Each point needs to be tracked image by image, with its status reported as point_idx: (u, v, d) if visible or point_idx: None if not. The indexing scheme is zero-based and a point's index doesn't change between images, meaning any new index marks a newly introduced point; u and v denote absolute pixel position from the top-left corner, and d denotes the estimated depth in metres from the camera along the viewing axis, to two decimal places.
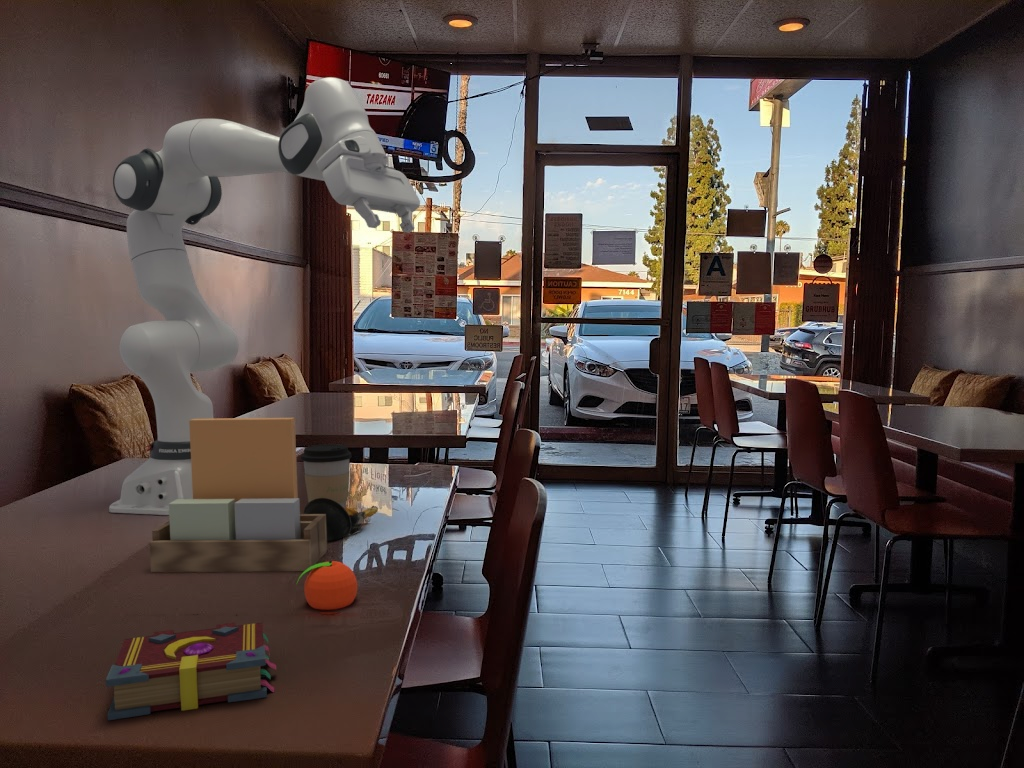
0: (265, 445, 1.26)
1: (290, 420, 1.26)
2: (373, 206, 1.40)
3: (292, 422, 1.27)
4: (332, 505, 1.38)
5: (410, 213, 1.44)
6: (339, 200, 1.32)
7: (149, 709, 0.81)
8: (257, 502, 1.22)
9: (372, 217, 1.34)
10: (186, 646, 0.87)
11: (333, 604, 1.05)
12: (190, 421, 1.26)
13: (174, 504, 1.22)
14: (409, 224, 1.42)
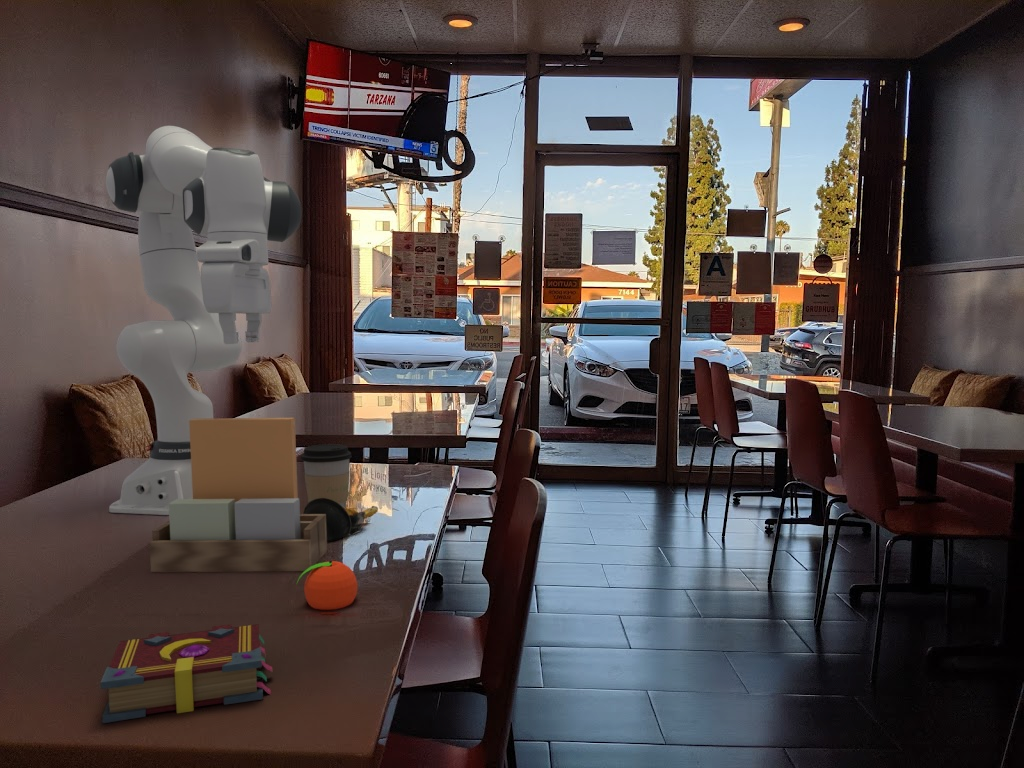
0: (265, 445, 1.26)
1: (290, 420, 1.26)
2: None
3: (292, 422, 1.27)
4: (332, 505, 1.38)
5: (260, 322, 1.32)
6: (210, 310, 1.16)
7: (145, 711, 0.80)
8: (257, 502, 1.22)
9: (233, 336, 1.21)
10: (181, 648, 0.87)
11: (333, 604, 1.05)
12: (190, 421, 1.26)
13: (174, 504, 1.22)
14: (256, 337, 1.30)
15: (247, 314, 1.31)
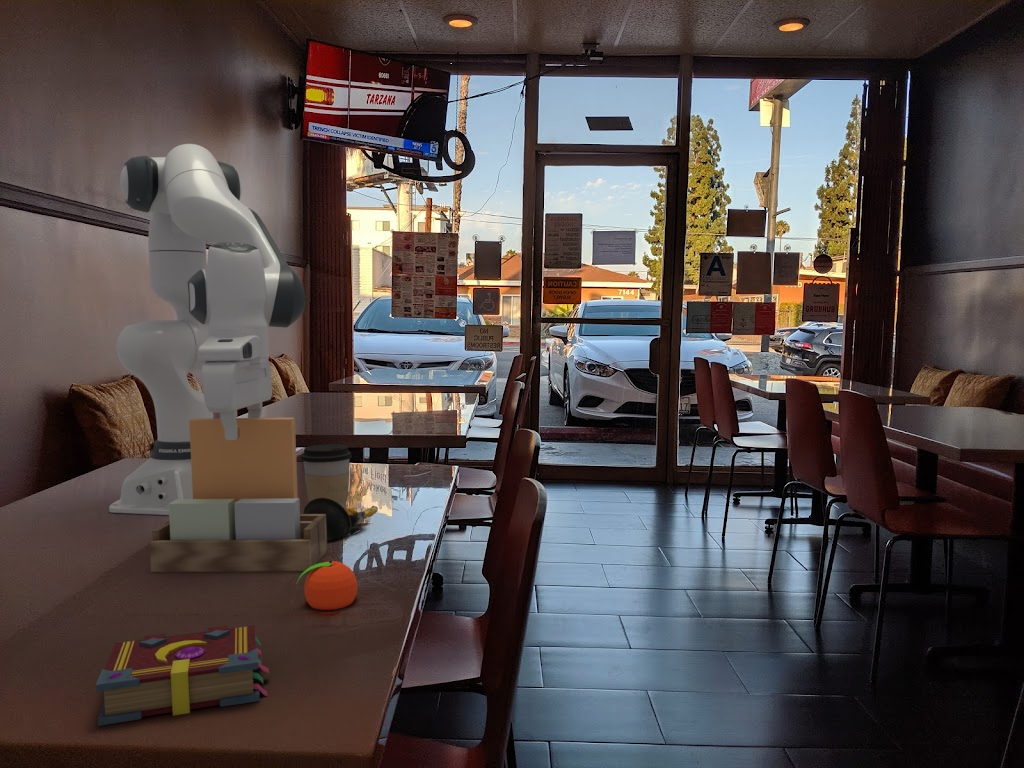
0: (265, 445, 1.26)
1: (290, 420, 1.26)
2: None
3: (292, 422, 1.27)
4: (332, 505, 1.38)
5: (261, 411, 1.33)
6: (211, 410, 1.17)
7: (140, 714, 0.80)
8: (257, 502, 1.22)
9: (235, 432, 1.22)
10: (177, 650, 0.86)
11: (333, 604, 1.05)
12: (190, 421, 1.26)
13: (174, 504, 1.22)
14: None
15: None
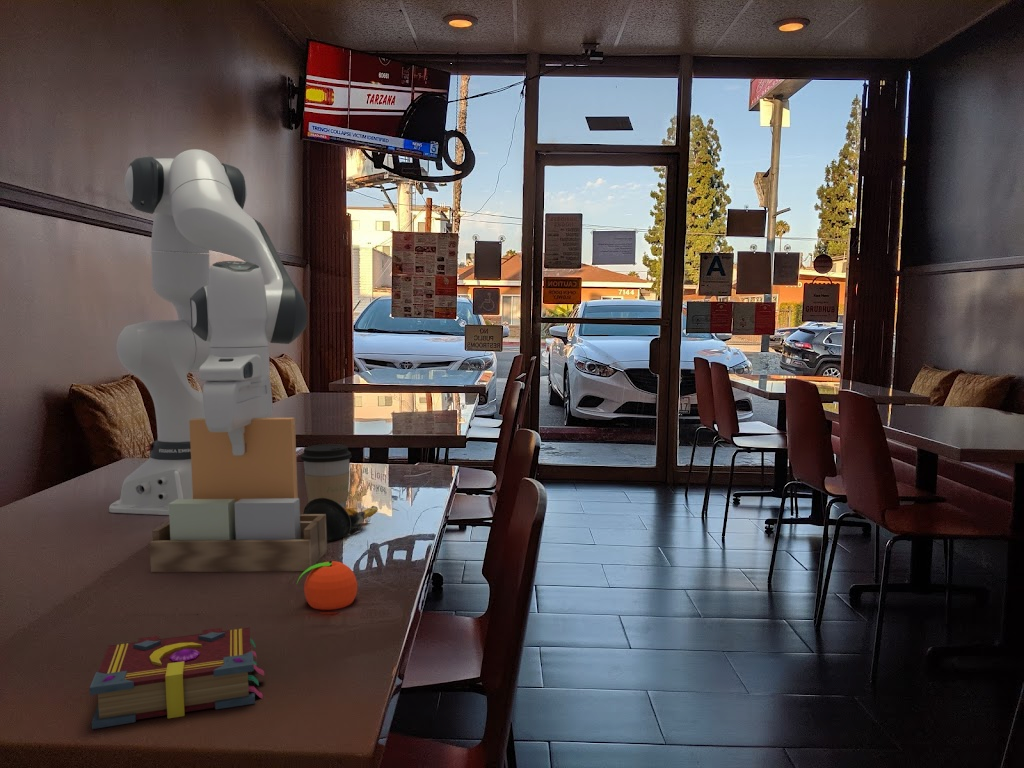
0: (265, 445, 1.26)
1: (290, 420, 1.26)
2: None
3: (292, 422, 1.27)
4: (332, 505, 1.38)
5: None
6: (212, 430, 1.18)
7: (135, 717, 0.79)
8: (257, 502, 1.22)
9: (242, 448, 1.25)
10: (172, 653, 0.86)
11: (333, 604, 1.05)
12: (190, 421, 1.26)
13: (174, 504, 1.22)
14: None
15: None
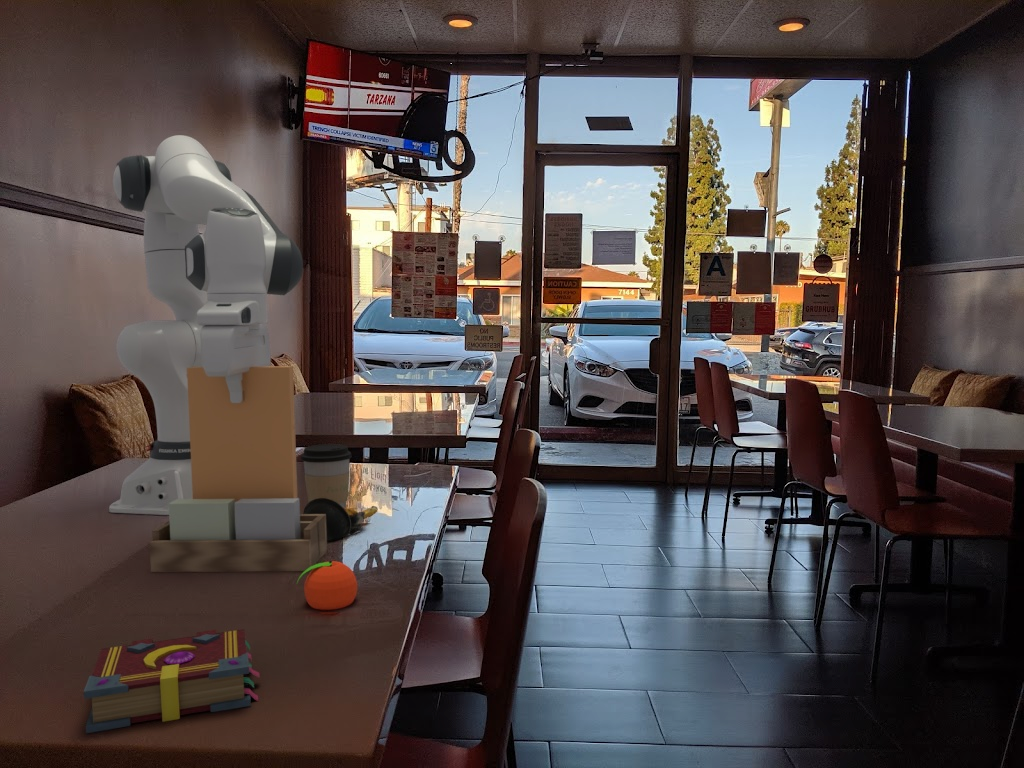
0: (263, 393, 1.26)
1: (288, 368, 1.25)
2: None
3: (290, 370, 1.26)
4: (332, 505, 1.38)
5: None
6: (209, 374, 1.17)
7: (129, 721, 0.79)
8: (257, 502, 1.22)
9: (240, 395, 1.25)
10: (166, 655, 0.85)
11: (333, 604, 1.05)
12: (188, 369, 1.26)
13: (174, 504, 1.22)
14: None
15: None
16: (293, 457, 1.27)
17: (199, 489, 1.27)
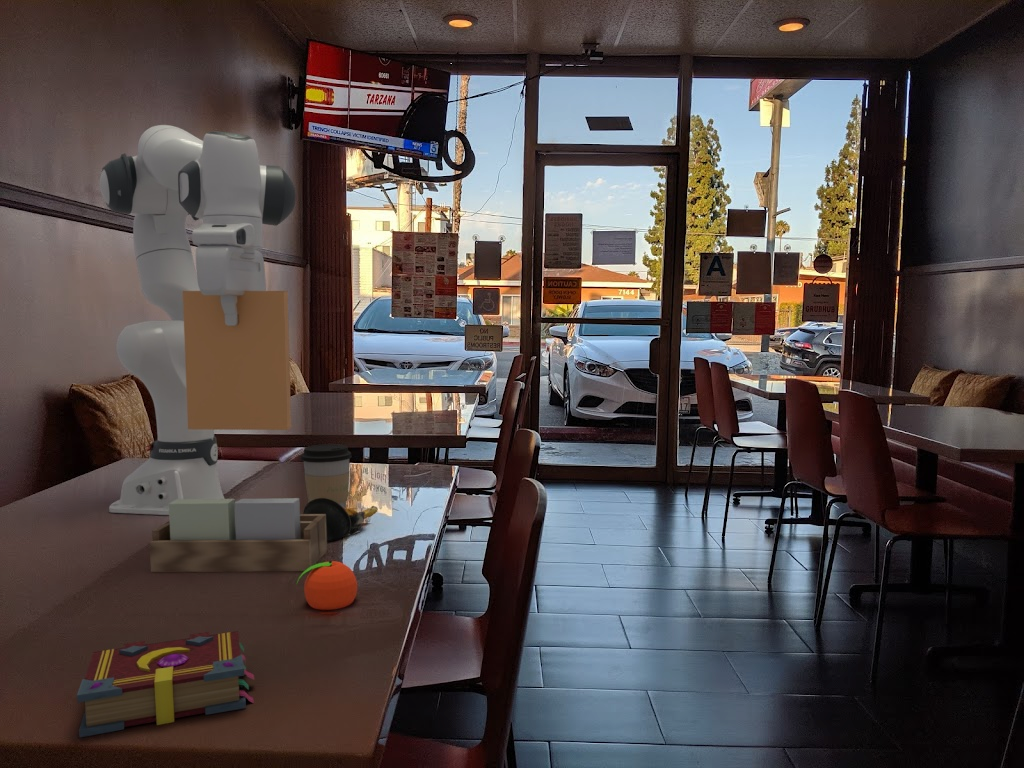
0: (258, 317, 1.27)
1: (283, 292, 1.27)
2: None
3: (285, 294, 1.28)
4: (332, 505, 1.38)
5: None
6: (204, 292, 1.18)
7: (123, 724, 0.78)
8: (257, 502, 1.22)
9: (234, 318, 1.26)
10: (159, 658, 0.85)
11: (333, 604, 1.05)
12: (183, 292, 1.27)
13: (174, 504, 1.22)
14: None
15: None
16: (287, 381, 1.29)
17: (194, 411, 1.29)
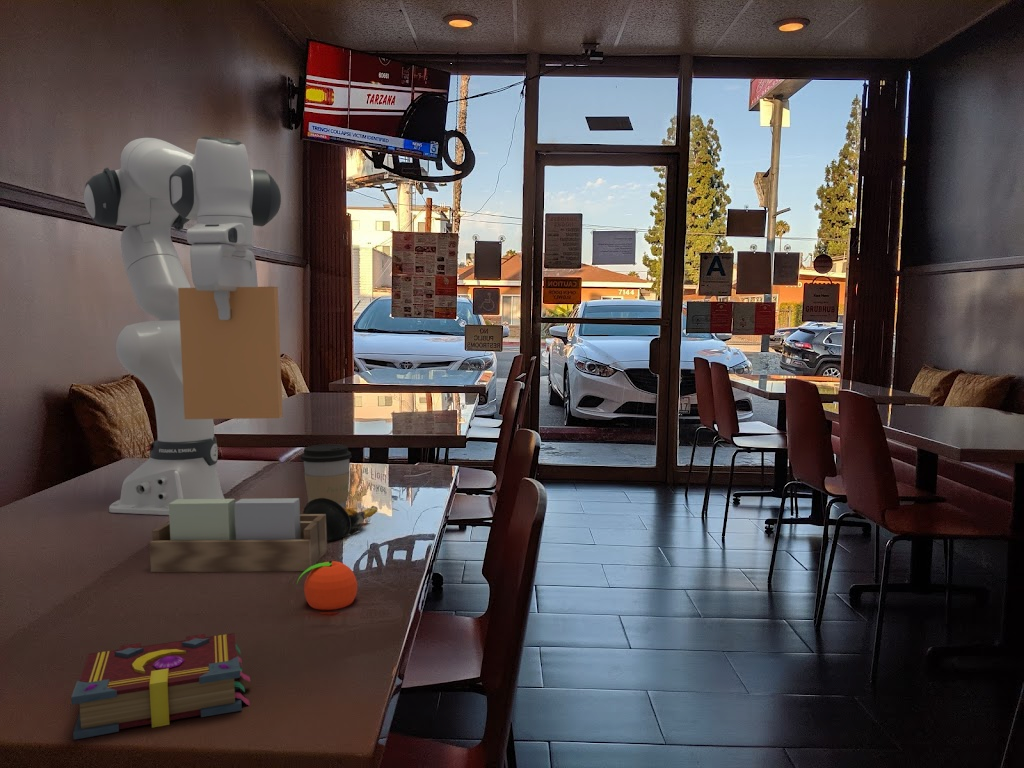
0: (250, 311, 1.35)
1: (273, 287, 1.34)
2: None
3: (275, 290, 1.35)
4: (332, 505, 1.38)
5: None
6: (198, 288, 1.26)
7: (118, 726, 0.77)
8: (257, 502, 1.22)
9: (227, 312, 1.33)
10: (155, 660, 0.84)
11: (333, 604, 1.05)
12: (179, 289, 1.34)
13: (174, 504, 1.22)
14: None
15: None
16: (278, 372, 1.36)
17: (190, 402, 1.36)
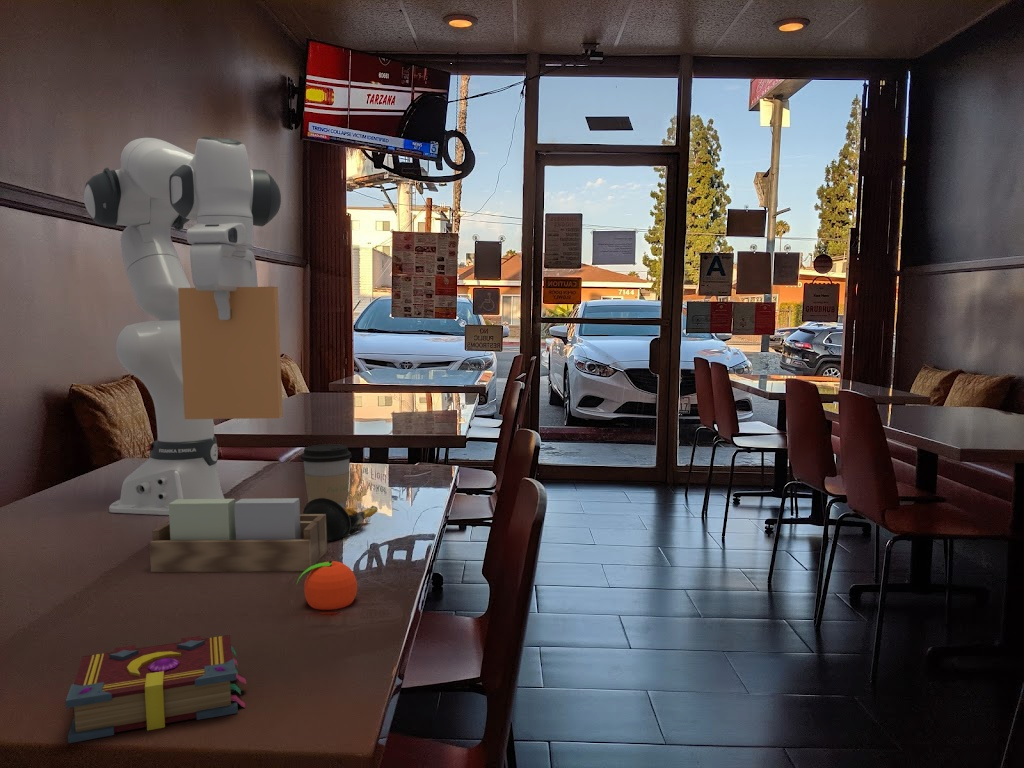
0: (250, 311, 1.35)
1: (273, 287, 1.34)
2: None
3: (275, 290, 1.35)
4: (332, 505, 1.38)
5: None
6: (198, 288, 1.26)
7: (113, 730, 0.77)
8: (257, 502, 1.22)
9: (227, 312, 1.33)
10: (150, 662, 0.84)
11: (333, 604, 1.05)
12: (179, 289, 1.34)
13: (174, 504, 1.22)
14: None
15: None
16: (278, 372, 1.36)
17: (190, 402, 1.36)
